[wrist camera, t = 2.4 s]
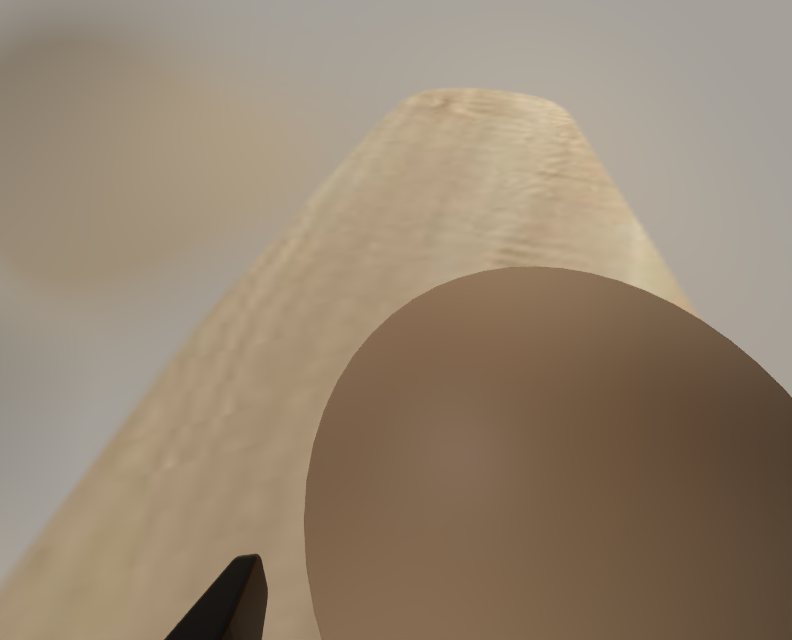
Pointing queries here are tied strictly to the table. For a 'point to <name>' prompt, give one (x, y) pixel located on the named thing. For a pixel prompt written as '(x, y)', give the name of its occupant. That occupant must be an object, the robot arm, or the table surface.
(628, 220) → the table surface
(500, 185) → the table surface
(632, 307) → the cable reel
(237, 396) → the table surface
